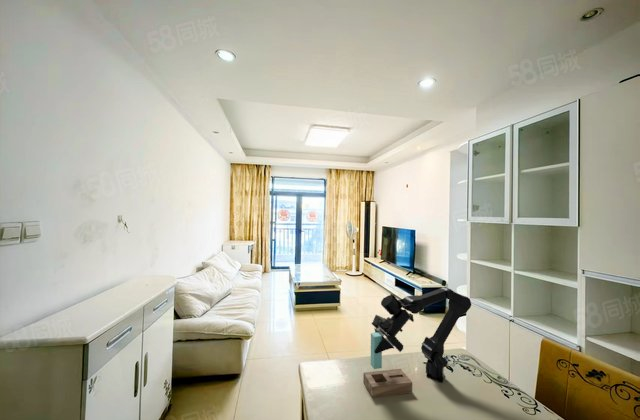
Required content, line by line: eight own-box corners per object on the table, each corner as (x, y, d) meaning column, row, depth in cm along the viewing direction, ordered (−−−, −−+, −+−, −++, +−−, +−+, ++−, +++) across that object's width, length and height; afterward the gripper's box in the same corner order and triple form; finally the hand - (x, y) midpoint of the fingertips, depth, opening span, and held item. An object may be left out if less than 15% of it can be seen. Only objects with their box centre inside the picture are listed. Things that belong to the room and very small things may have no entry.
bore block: (412, 392, 96) (412, 382, 96) (371, 397, 93) (372, 386, 93) (400, 378, 105) (400, 368, 105) (363, 382, 101) (363, 372, 102)
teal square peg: (378, 363, 103) (378, 332, 104) (381, 368, 100) (381, 336, 101) (370, 364, 103) (370, 333, 103) (374, 369, 99) (374, 336, 100)
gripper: (375, 302, 112) (352, 328, 110) (396, 317, 94) (369, 349, 91) (391, 318, 114) (369, 344, 111) (414, 336, 95) (388, 368, 93)
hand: (373, 350), depth 101 cm, fingers closed on teal square peg, 3 cm apart
